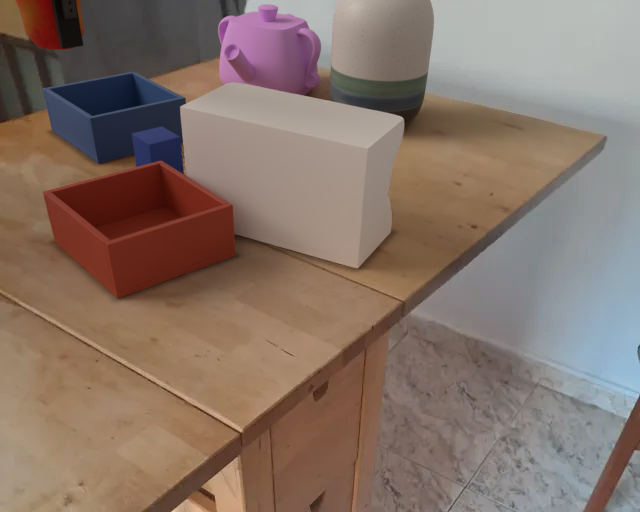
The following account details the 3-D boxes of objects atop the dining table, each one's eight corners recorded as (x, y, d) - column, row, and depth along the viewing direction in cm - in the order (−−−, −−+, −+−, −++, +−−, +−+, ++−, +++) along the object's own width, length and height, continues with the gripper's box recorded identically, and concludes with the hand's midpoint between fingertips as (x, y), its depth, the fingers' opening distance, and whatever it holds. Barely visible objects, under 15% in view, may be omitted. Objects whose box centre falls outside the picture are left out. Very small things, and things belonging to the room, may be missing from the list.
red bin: (55, 242, 88) (42, 191, 84) (167, 208, 96) (161, 160, 92) (117, 298, 79) (107, 245, 75) (235, 255, 87) (233, 204, 83)
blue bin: (52, 131, 116) (42, 88, 111) (139, 112, 124) (134, 71, 119) (98, 163, 107) (89, 118, 102) (189, 140, 115) (185, 97, 110)
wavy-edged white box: (409, 212, 98) (423, 102, 88) (357, 268, 86) (367, 149, 76) (257, 174, 106) (255, 69, 95) (190, 221, 94) (179, 106, 83)
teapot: (306, 73, 144) (308, -7, 134) (328, 106, 129) (332, 20, 119) (215, 75, 141) (210, -6, 131) (227, 110, 126) (222, 22, 116)
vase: (310, 113, 126) (314, -43, 110) (383, 99, 134) (397, -50, 117) (364, 143, 116) (378, -23, 100) (440, 127, 124) (464, -31, 107)
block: (138, 181, 102) (131, 133, 98) (167, 173, 105) (162, 126, 100) (155, 193, 100) (149, 144, 95) (185, 184, 102) (180, 136, 97)
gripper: (89, -195, 69) (123, 54, 84) (4, -205, 80) (48, 16, 95) (15, -198, 65) (65, 63, 80) (-62, -208, 76) (-6, 23, 92)
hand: (56, 37), depth 88 cm, fingers closed on apple, 8 cm apart
